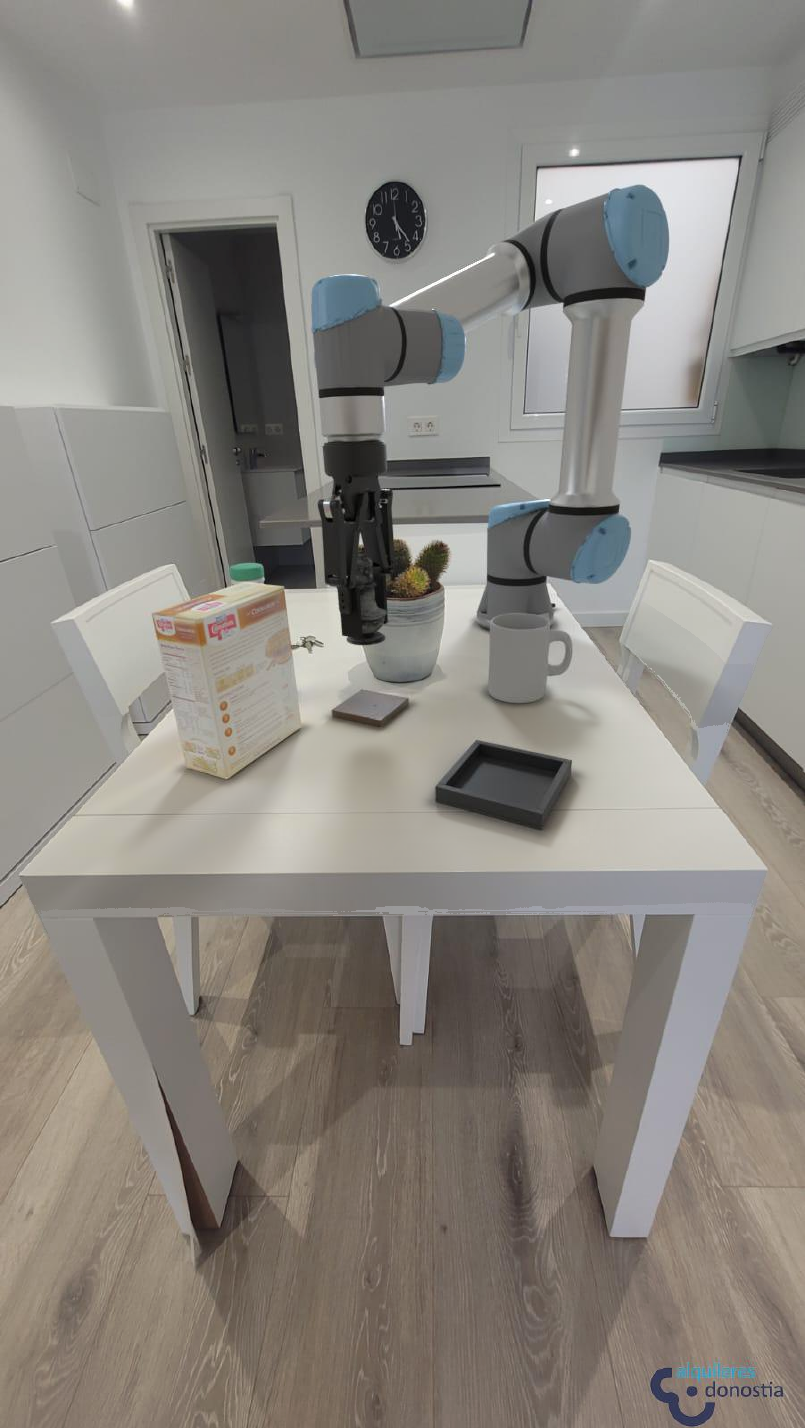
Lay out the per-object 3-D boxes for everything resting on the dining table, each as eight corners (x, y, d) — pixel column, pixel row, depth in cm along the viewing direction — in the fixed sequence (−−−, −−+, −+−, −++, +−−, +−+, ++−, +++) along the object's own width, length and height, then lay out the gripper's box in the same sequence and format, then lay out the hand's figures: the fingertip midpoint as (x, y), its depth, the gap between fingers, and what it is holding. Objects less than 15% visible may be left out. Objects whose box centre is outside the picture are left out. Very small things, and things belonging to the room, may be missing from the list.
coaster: (362, 695, 90) (361, 689, 89) (408, 704, 86) (408, 698, 86) (332, 716, 84) (331, 710, 83) (381, 727, 80) (380, 720, 80)
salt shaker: (349, 648, 77) (342, 554, 72) (340, 635, 82) (333, 546, 77) (392, 642, 78) (388, 550, 73) (381, 630, 84) (377, 542, 78)
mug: (491, 704, 85) (493, 631, 81) (484, 681, 93) (486, 613, 88) (575, 702, 85) (582, 628, 80) (561, 679, 93) (568, 611, 88)
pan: (475, 753, 73) (476, 739, 72) (570, 774, 68) (572, 759, 67) (435, 801, 64) (435, 786, 63) (541, 830, 59) (542, 814, 58)
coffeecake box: (263, 718, 84) (242, 580, 75) (304, 727, 81) (287, 585, 72) (183, 768, 72) (147, 611, 64) (227, 781, 69) (196, 618, 60)
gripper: (368, 437, 79) (377, 608, 89) (277, 442, 64) (300, 646, 74) (419, 436, 75) (422, 613, 85) (335, 441, 61) (350, 655, 71)
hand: (365, 628), depth 80 cm, fingers closed on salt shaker, 6 cm apart
